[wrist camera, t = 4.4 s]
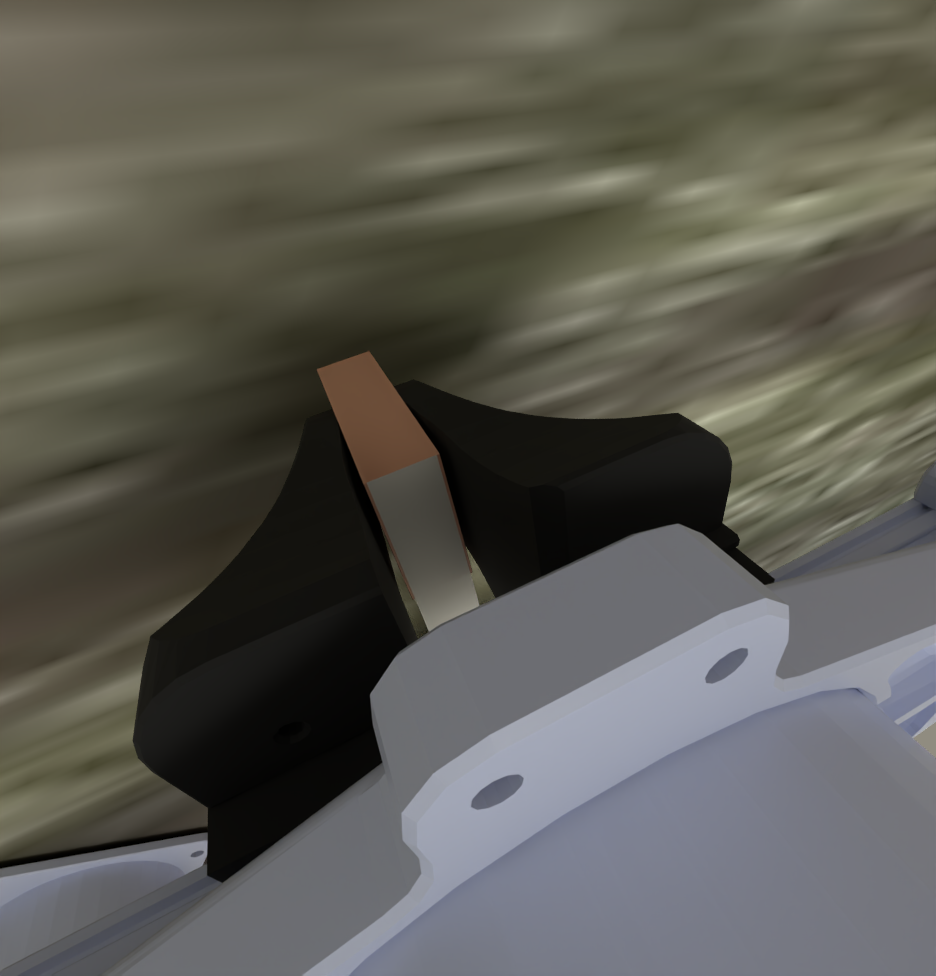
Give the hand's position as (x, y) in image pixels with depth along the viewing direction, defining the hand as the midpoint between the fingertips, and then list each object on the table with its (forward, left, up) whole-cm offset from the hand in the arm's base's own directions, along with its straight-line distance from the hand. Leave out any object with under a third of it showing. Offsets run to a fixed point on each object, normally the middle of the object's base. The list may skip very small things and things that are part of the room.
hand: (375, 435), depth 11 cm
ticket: (-6, -5, -1) cm, 8 cm away
